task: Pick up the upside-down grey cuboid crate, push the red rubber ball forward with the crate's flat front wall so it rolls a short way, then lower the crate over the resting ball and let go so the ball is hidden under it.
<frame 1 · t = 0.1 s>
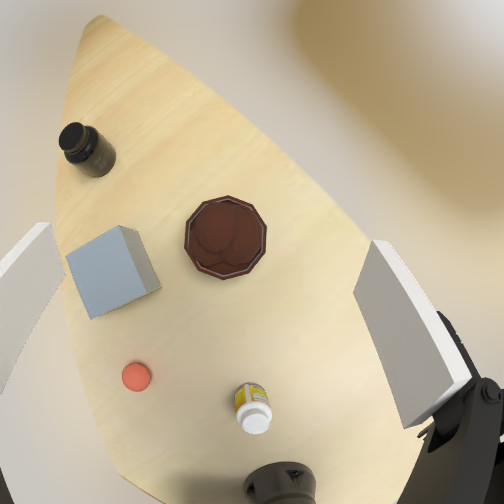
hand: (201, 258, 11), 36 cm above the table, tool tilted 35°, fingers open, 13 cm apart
supplement bottle 2: (250, 395, 46), on the table
grey cuboid crate: (123, 271, 45), on the table
ball: (135, 377, 42), on the table
ice cream bowl: (226, 242, 47), on the table
supplement bottle: (100, 160, 45), on the table
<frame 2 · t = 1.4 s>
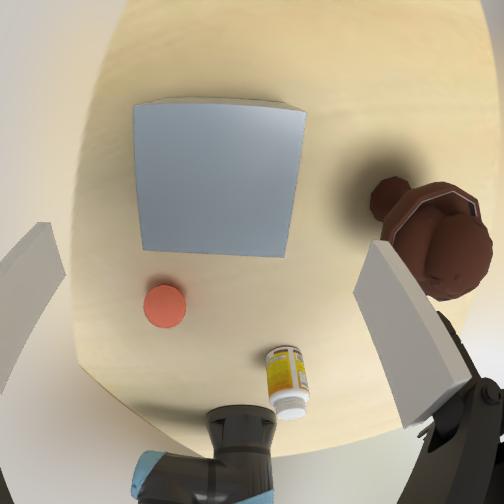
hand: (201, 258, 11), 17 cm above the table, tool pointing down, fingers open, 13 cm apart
supplement bottle 2: (283, 354, 41), on the table
grey cuboid crate: (222, 152, 25), on the table
ball: (164, 306, 31), on the table
ice cream bowl: (391, 199, 28), on the table
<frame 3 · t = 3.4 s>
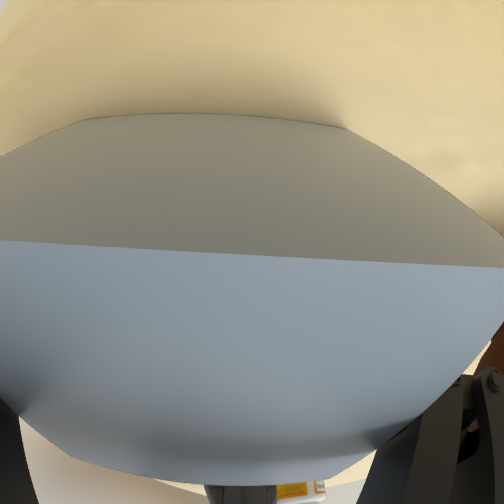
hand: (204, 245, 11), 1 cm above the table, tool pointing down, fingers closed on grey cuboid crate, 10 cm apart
supplement bottle 2: (295, 444, 29), on the table
grey cuboid crate: (205, 235, 12), on the table, touching gripper
ice cream bowl: (474, 289, 15), on the table
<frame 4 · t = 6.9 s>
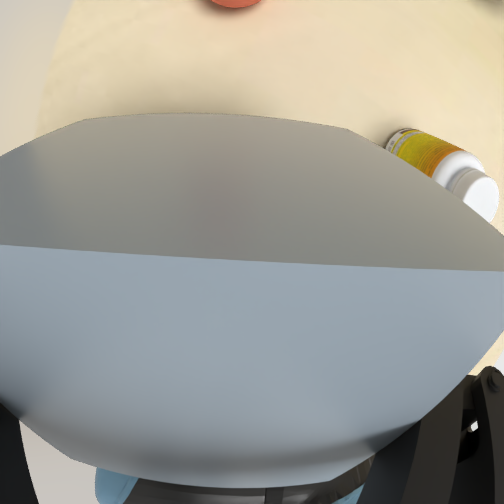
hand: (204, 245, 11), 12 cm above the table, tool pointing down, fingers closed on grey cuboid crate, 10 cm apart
supplement bottle 2: (406, 156, 22), on the table
grey cuboid crate: (205, 236, 12), point 12 cm above the table, touching gripper
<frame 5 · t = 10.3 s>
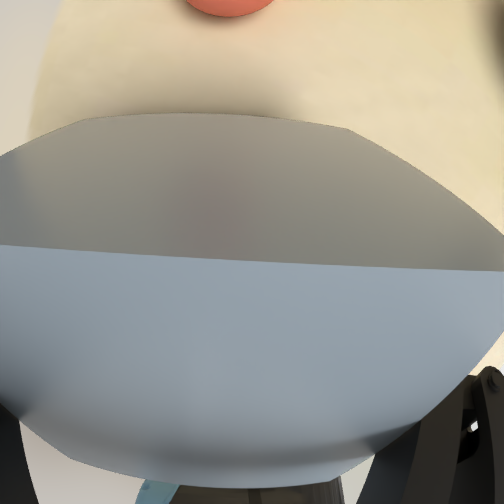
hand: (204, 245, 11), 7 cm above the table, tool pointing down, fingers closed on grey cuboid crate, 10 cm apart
grey cuboid crate: (205, 236, 12), point 6 cm above the table, touching gripper
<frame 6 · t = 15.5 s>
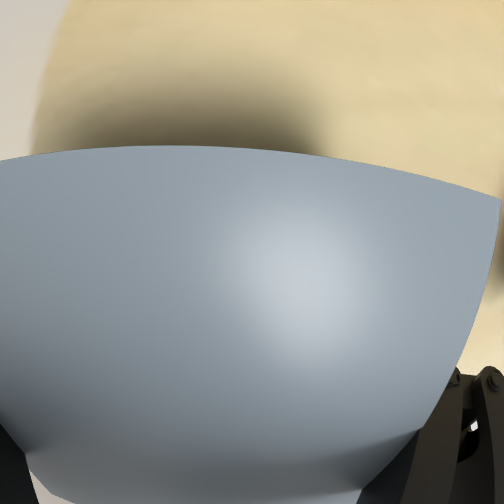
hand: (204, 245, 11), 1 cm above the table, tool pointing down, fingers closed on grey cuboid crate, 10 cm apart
grey cuboid crate: (204, 286, 12), point 2 cm above the table, tilted 19°, touching ball, gripper
when the fingers open (1 cm above the table, at t = 15.9 s): grey cuboid crate drops 2 cm, on the table.
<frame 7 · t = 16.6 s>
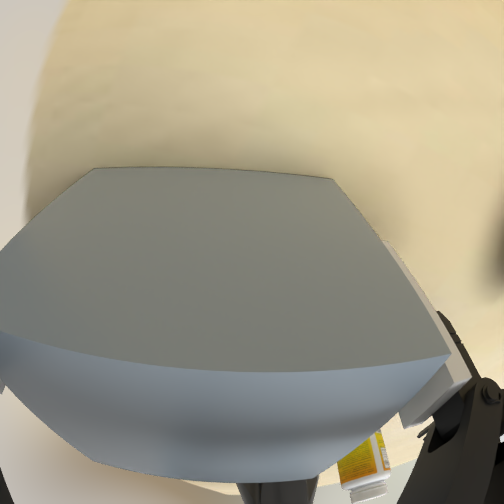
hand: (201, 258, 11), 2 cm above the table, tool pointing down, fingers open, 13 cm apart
supplement bottle 2: (353, 422, 27), on the table
grey cuboid crate: (206, 271, 14), on the table
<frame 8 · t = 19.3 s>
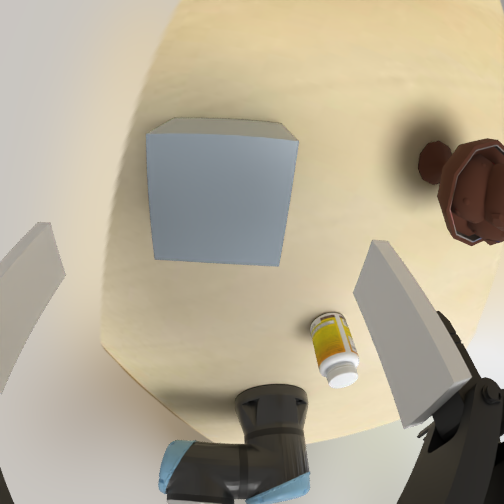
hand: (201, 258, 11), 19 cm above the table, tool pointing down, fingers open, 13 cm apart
supplement bottle 2: (327, 322, 41), on the table
grey cuboid crate: (224, 168, 27), on the table
ice cream bowl: (435, 162, 27), on the table
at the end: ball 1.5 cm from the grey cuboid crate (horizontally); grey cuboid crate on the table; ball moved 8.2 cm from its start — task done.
